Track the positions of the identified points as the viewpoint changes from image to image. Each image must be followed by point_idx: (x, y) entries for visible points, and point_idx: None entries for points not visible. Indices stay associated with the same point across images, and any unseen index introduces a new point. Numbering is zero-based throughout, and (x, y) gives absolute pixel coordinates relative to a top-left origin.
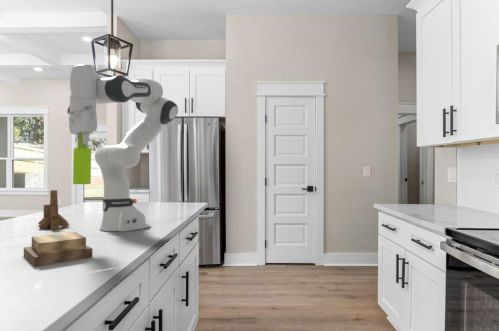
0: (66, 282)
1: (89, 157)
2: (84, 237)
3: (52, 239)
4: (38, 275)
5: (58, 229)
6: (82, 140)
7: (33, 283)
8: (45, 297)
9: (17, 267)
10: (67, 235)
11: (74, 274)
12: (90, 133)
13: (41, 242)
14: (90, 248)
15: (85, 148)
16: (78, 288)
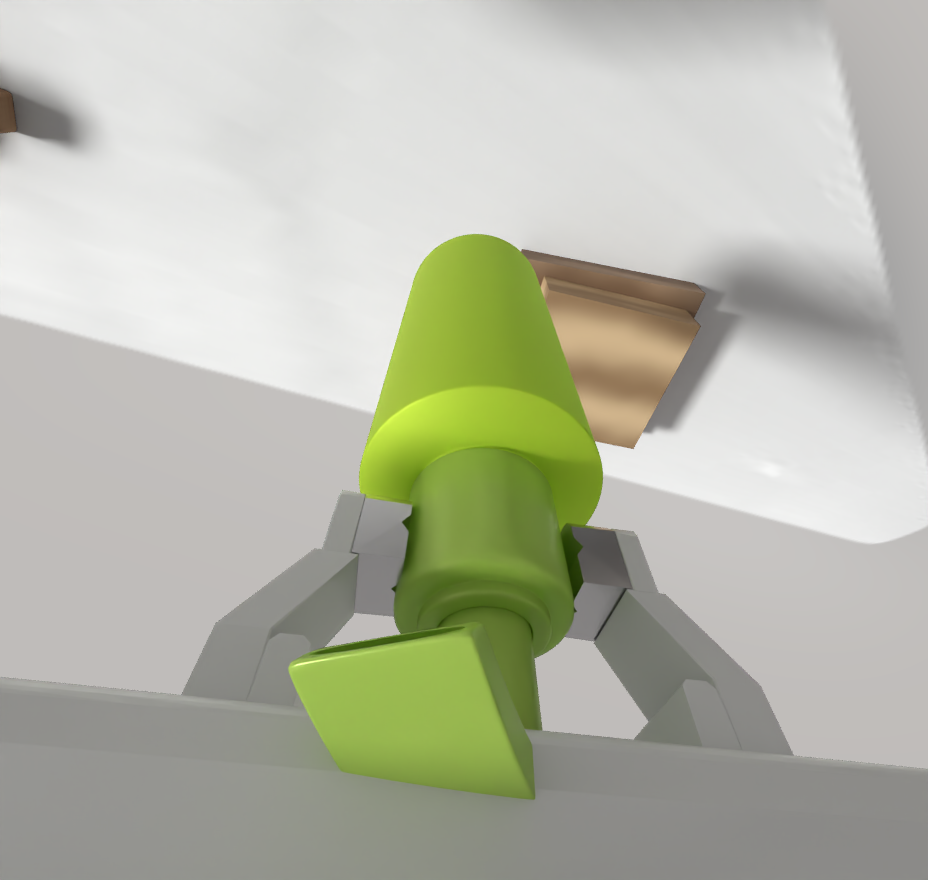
0: (816, 433)
1: (572, 379)
2: (691, 327)
3: (614, 404)
4: (706, 446)
5: (2, 92)
6: (589, 630)
7: (748, 470)
8: (843, 485)
9: None
10: (594, 345)
11: (787, 399)
12: (404, 637)
13: (626, 439)
14: (698, 298)
15: (596, 505)
16: (875, 435)
